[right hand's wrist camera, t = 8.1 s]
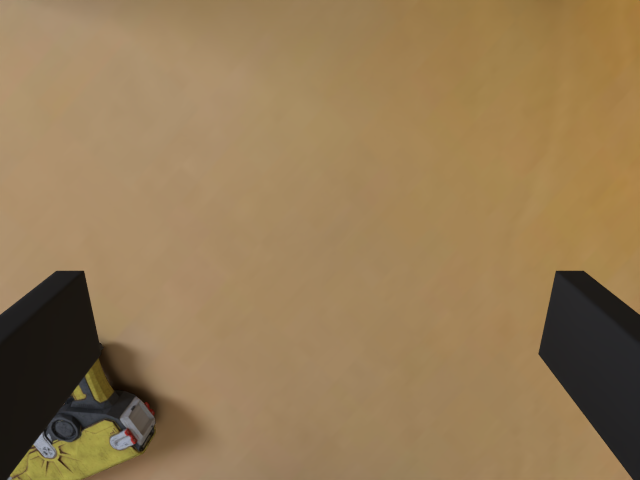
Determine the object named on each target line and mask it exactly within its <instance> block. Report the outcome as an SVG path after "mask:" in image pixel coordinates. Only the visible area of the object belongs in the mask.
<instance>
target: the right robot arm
mask: <svg viewBox="0 0 640 480" xmlns="http://www.w3.org/2000/svg"><path fill="white" fill-rule="evenodd" d="M100 355H101V349H100V345H99V340H98V335H97V330H96V326H95V321H94V316H93V311H92V307H91V302H90V297H89V292H88V288H87V283H86V278H85V273H84V271H56V272H54V273H53V274H52V275H51V276H49V277H48V278H47V279H45V280H44V281H43V282H42V283H40V284H39V285H38V286H37V287H35V288H34V289H33V290H31V291H30V292H29V293H28V294H26V295H25V296H24V297H22V298H21V299H20V300H19V301H17V302H16V303H15V304H14V305H12V306H11V307H10V308H8V309H7V310H6V311H5V312H3V313H2V314H1V315H0V480H7V479H8V477H9V476H10V475H11V473H12V472H13V471H14V470H15V468H16V467H17V466H18V464H19V463H20V462H21V460H22V459H23V458H24V456H25V455H26V454H27V452H28V451H29V450H30V448H31V447H32V446H33V444H34V443H35V442H36V440H37V439H38V438H39V436H40V435H41V434H42V432H43V431H44V430H45V428H46V427H47V426H48V424H49V423H50V422H51V420H52V419H53V418H54V416H55V415H56V414H57V412H58V411H59V410H60V408H61V407H62V406H63V405H64V403H65V402H66V401H67V399H68V398H69V397H70V395H71V394H72V393H73V391H74V390H75V389H76V387H77V386H78V385H79V383H80V382H81V381H82V379H83V378H84V377H85V375H86V374H87V373H88V371H89V370H90V369H91V367H92V366H93V365H94V363H95V362H96V361H97V359H98V358H99V357H100ZM539 355H540V357H541V358H542V359H543V361H544V362H545V363H546V365H547V366H548V367H549V369H550V370H551V371H552V373H553V374H554V375H555V377H556V378H557V379H558V381H559V382H560V383H561V385H562V386H563V387H564V389H565V390H566V391H567V393H568V394H569V395H570V397H571V398H572V399H573V401H574V402H575V403H576V405H577V406H578V407H579V408H580V410H581V411H582V412H583V414H584V415H585V416H586V418H587V419H588V420H589V422H590V423H591V424H592V426H593V427H594V428H595V430H596V431H597V432H598V434H599V435H600V436H601V438H602V439H603V440H604V442H605V443H606V444H607V446H608V447H609V448H610V450H611V451H612V452H613V454H614V455H615V456H616V458H617V459H618V460H619V462H620V463H621V464H622V466H623V467H624V468H625V470H626V471H627V472H628V473H629V475H630V476H631V477H632V479H633V480H640V315H639V314H638V313H637V312H635V311H634V310H633V309H632V308H630V307H629V306H628V305H626V304H625V303H624V302H623V301H621V300H620V299H619V298H618V297H616V296H615V295H614V294H612V293H611V292H610V291H609V290H607V289H606V288H605V287H603V286H602V285H601V284H600V283H598V282H597V281H596V280H595V279H593V278H592V277H591V276H589V275H588V274H587V273H586V272H584V271H556V273H555V278H554V283H553V288H552V292H551V297H550V302H549V307H548V311H547V316H546V321H545V326H544V330H543V335H542V340H541V345H540V349H539Z"/></svg>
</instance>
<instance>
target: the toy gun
mask: <svg viewBox="0 0 640 480" xmlns="http://www.w3.org/2000/svg"><path fill="white" fill-rule="evenodd" d="M99 345H100V349H101V350H102V349H103V348H104V347H103V346H102V345H101V343H99ZM154 414H155V412H154V411H153V410H152V409H150V407H149V404H148V403H147V402H145V403H143V402H142V401H141V400H140V399H139V398H137V396H136V395H134V394H131V393H129V392H126V391H118V390H113V389H112V387H111V386H110V385H109V383H108V381H107V379H106V377H105V375H104V372H103V370H102V367H101V364H100V361H99V358H98V359H97V361H96V362H95V363H94V365H93V366H92V367H91V369H90V370H89V371H88V373H87V374H86V375H85V377H84V378H83V379H82V381H81V382H80V383H79V385H78V386H77V387H76V389H75V390H74V391H73V393H72V394H71V395H70V397H69V398H68V399H67V401H66V402H65V404H64V405H63V406H62V407H61V408H60V410H59V411H58V412H57V414H56V415H55V416H54V418H53V419H52V420H51V422H50V423H49V424H48V426H47V427H46V428H45V430H44V431H43V432H42V434H41V435H40V436H39V438H38V439H37V440H36V442H35V443H34V444H33V446H32V447H31V448H30V450H29V451H28V452H27V454H26V455H25V456H24V458H23V459H22V460H21V462H20V463H19V464H18V466H17V467H16V468H15V470H14V471H13V472H12V473H11V475H10V476H9V477H8V479H7V480H82V479H84V478H87V477H89V476H91V475H94V474H96V473H98V472H101V471H103V470H106V469H108V468H110V467H113V466H115V465H117V464H120V463H122V462H125V461H127V460H129V459H132V458H134V457H136V456H139V455H141V454H143V453H144V452H145V450H146V449H147V447H148V445H149V443H150V442H151V440H152V439H153V437H154V435H155V433H156V430H155V418H154Z"/></svg>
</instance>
